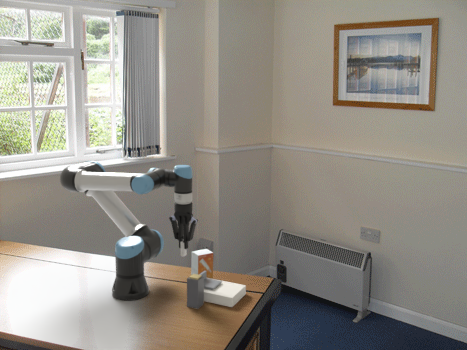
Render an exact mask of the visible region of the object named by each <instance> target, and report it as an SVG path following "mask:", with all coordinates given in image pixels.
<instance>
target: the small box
mask: <svg viewBox="0 0 467 350" xmlns="http://www.w3.org/2000/svg"><path fill="white" fill-rule="evenodd" d="M190 261H191V262H190V263H191V266H190V267H191V268H190V269H191V270H190V271H191V273H190V276H191V275H193V274H198V275H199V274H200V273H202V272H203V271H207V272H206V277H207V278H212V279H214V252H213V251H211V250H210V249H208V248H204V249H199V250H198V249H197V250H194V251H193V250H192V251H191V260H190Z"/></svg>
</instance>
